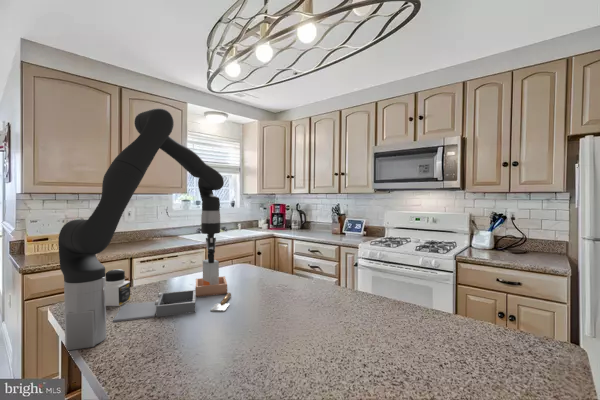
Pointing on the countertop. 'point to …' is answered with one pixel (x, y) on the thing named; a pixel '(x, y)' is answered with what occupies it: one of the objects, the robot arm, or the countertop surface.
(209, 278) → the skincare box
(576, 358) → the countertop surface
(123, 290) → the medicine bottle
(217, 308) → the hand shovel
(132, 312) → the bin
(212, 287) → the bin
